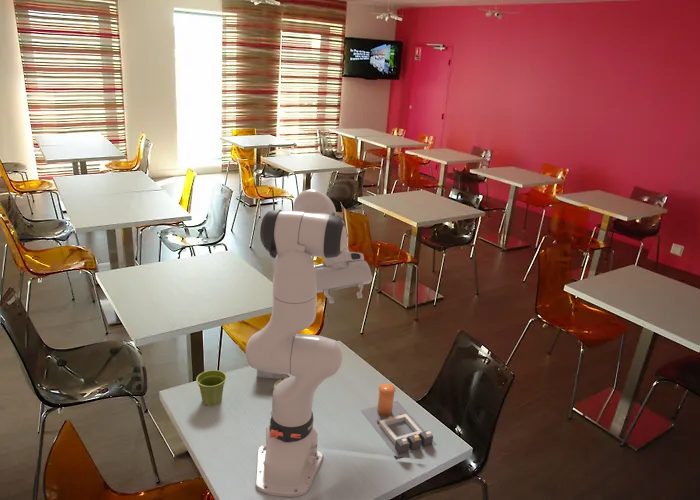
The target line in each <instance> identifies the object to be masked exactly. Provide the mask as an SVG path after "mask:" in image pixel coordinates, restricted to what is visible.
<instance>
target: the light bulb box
mask: <svg viewBox="0 0 700 500" xmlns="http://www.w3.org/2000/svg"><path fill="white" fill-rule="evenodd" d="M286 377H288V374H278V373H268V372H264V371H261V370H258V369H256V378H264V379H265V378H267V379H277V380H280V379H282V378H286Z"/></svg>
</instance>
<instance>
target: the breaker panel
mask: <svg viewBox="0 0 700 500" xmlns="http://www.w3.org/2000/svg"><path fill="white" fill-rule="evenodd" d="M377 409H378V405H376V406H372V407H368V408H364V409H362V410H361V409H360V411H361V413H362V414H363V416H364V417H365V418H366V419H367V420H368V422H369V423H370V424H371V425H372V427H373V428H374V429H375V432H376V433H378V434H379V436H380V437H381V439H382V440H383V441H384V442H385V443H386V445H387V446H388V447H389V449H390V450H391V451H392V453H393V454H394V455H393V457H394V458H395V459H396V460H401V459H403V458H404V455H408V454H411V453H414V452H418V451H421V450H423V449H427V448H430V447H433V446H436V445H437V443H436V442H435V441H434V435H433V434H432V431H429V430H425V429H423V427H422V426H421V425H420V424H419V423H418V422H417V421H416V420H415V419H414V418H413V416H412V415H411V414H410V413H409V411H407V410H406V409H405V407H404V405H403V406H402V404H401V403H400V402H399V401H398V400H395V401H393V408H392V414H391V415H390V416H381V415H380V414H378V412H377Z"/></svg>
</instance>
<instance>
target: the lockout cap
mask: <svg viewBox="0 0 700 500" xmlns="http://www.w3.org/2000/svg"><path fill="white" fill-rule="evenodd" d="M395 393H396V387H395V386H394V384H391V383H388V382H387V383H381V384H380V385H379V386H378V400H377V402H378V403H377V406H378V409H377V412H378V414H380V415H381V416H390V415H391V414H392V408H393V402H394V397H395Z"/></svg>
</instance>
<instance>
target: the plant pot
mask: <svg viewBox="0 0 700 500" xmlns="http://www.w3.org/2000/svg"><path fill="white" fill-rule="evenodd" d="M226 380H227V375H226V373H224V372H223V371H221V370H216V369H211V370H205V371H202V372H201V373H199V374H198V375H197V376H196V379H195V381H196V384H197V385H198V387H199V389H200V396H201V400H202V403H203V404H204V405H205V406H212V407H213V406H217V405H219V404H221V401H222V400H223V393H224V392H223V391H224V386H225V382H226Z"/></svg>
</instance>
